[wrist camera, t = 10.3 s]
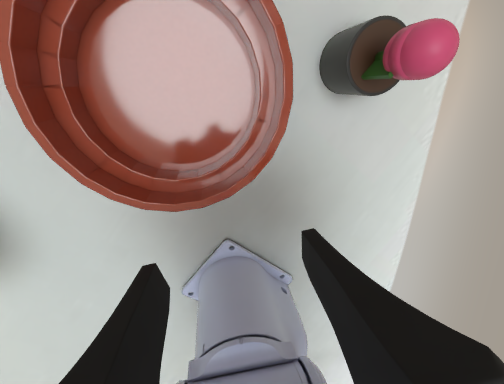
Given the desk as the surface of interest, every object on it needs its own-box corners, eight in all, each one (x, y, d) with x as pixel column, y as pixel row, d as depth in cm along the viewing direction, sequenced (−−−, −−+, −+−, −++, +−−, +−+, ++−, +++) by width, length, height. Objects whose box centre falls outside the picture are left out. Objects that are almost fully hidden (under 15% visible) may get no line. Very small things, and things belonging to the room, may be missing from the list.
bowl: (313, 77, 18) (342, 75, 14) (199, 216, 22) (197, 246, 18) (128, -126, 13) (90, -225, 9) (13, 105, 16) (-53, 112, 12)
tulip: (382, 60, 19) (508, 41, 11) (343, 105, 20) (431, 119, 12) (350, 14, 17) (469, -46, 9) (308, 66, 18) (384, 52, 10)
